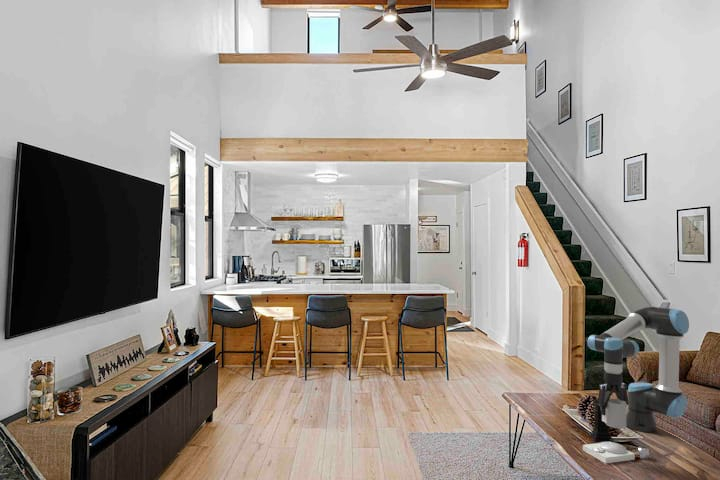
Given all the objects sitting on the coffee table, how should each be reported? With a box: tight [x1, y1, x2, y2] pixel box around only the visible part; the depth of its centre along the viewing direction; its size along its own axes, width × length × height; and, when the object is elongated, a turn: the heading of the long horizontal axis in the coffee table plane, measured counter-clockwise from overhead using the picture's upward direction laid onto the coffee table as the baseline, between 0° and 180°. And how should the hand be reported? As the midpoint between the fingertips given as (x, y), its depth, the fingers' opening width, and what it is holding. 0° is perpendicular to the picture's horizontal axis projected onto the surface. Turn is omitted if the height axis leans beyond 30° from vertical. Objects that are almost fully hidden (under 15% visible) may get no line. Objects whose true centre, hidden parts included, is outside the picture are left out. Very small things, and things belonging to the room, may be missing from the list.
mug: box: [606, 397, 627, 430], centre depth 220 cm, size 12×8×11 cm
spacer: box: [637, 446, 650, 460], centre depth 217 cm, size 4×4×4 cm
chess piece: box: [589, 395, 614, 443], centre depth 237 cm, size 8×8×20 cm
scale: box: [582, 441, 636, 464], centre depth 219 cm, size 16×14×4 cm
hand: (612, 421), depth 220 cm, fingers closed on mug, 8 cm apart
